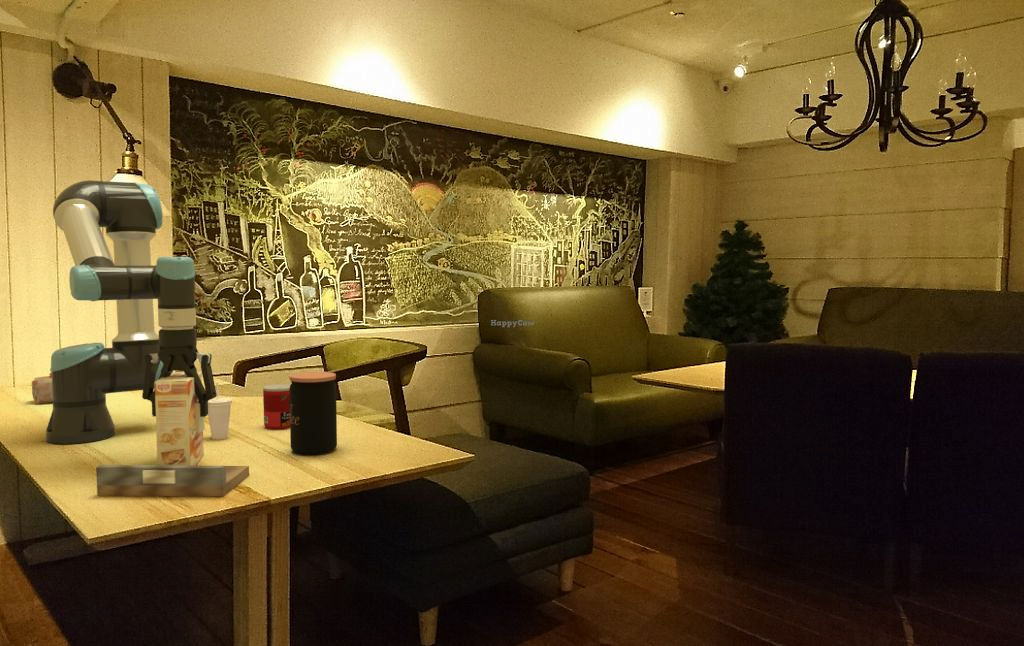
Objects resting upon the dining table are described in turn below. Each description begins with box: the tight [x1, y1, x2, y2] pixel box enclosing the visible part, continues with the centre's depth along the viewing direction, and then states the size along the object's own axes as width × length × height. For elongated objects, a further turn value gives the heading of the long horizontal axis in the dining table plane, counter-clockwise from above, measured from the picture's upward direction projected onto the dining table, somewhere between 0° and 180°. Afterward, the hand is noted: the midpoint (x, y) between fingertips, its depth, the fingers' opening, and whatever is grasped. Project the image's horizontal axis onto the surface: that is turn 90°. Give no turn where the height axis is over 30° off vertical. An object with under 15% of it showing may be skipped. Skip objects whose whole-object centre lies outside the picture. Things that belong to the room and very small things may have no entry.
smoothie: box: [207, 382, 233, 441], centre depth 189 cm, size 6×6×14 cm
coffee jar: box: [289, 371, 338, 456], centre depth 177 cm, size 11×11×18 cm
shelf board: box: [95, 464, 250, 497], centre depth 150 cm, size 24×14×6 cm, turn 90°
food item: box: [31, 372, 53, 405], centre depth 237 cm, size 14×8×10 cm, turn 123°
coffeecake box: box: [154, 371, 205, 466], centre depth 165 cm, size 15×7×20 cm, turn 12°
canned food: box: [262, 383, 291, 431], centre depth 202 cm, size 8×8×11 cm
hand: (180, 431), depth 165 cm, fingers closed on coffeecake box, 8 cm apart
